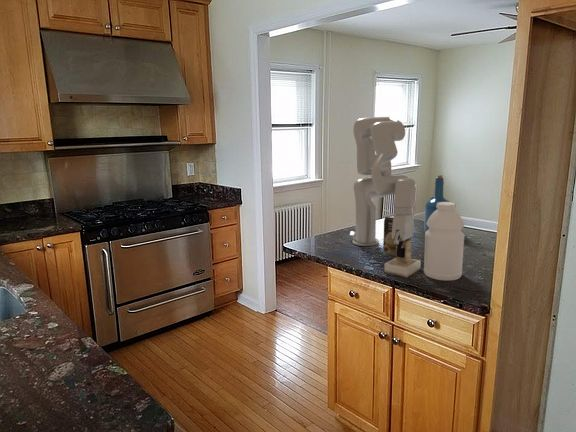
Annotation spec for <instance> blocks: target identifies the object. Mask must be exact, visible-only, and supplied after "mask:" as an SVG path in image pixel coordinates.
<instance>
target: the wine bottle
mask: <svg viewBox="0 0 576 432" xmlns="http://www.w3.org/2000/svg"><path fill="white" fill-rule="evenodd" d="M434 181H435V182H434V194H433V195H434V196H432V197H430V198H429V199H428V200H427V201H426V202H425V204H424V220H423V221H424V223H423V224H424V225H423V232H424V233H425V232H426V231H427V230H428V229H429V227H428V226H427V224H426V223H427V221H428V219H429V217H430V216H431V214H432V213H433V212H434V211H435V210H437V209H438V208H436V205H437V203H439V202H450V200H448V199H447V198H445V197H444V183H445V182H444V177H443V175H442V174H437V175H436V178H435V180H434Z"/></svg>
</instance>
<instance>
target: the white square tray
mask: <svg viewBox="0 0 576 432" xmlns="http://www.w3.org/2000/svg"><path fill="white" fill-rule="evenodd" d="M421 264H422V261H421V260H420V259H415V258H411V262H410V263H408V264H403V263H398V262H396V257H394V258H392V259H391V260H389V261H386V262H385V263H384V273H387V274H391V275H395V276H400V277H403V278H408V277H409V276H411V275H413V274H415V273H416V272H418V271H419V270H421V267H422V265H421Z"/></svg>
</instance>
